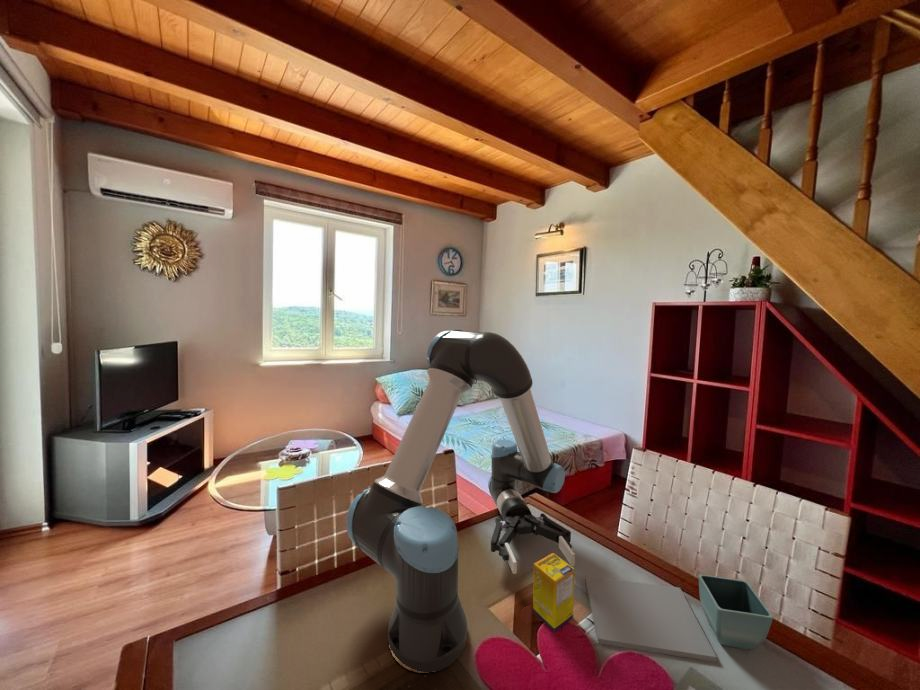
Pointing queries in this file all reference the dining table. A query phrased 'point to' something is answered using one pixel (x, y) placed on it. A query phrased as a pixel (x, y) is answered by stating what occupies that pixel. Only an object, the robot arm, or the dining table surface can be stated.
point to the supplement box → (553, 591)
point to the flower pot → (734, 611)
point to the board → (646, 618)
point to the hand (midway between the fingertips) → (544, 564)
